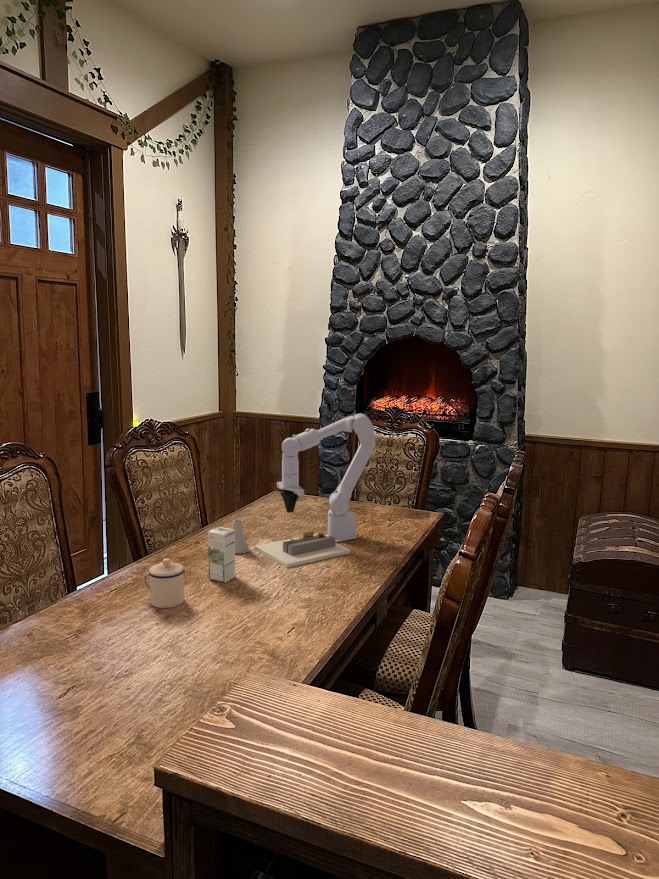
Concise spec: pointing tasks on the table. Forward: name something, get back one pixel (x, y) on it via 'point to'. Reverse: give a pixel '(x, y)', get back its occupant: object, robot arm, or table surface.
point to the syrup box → (221, 554)
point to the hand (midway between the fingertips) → (290, 511)
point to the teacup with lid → (165, 584)
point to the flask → (239, 538)
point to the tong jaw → (285, 544)
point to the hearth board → (299, 558)
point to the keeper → (306, 533)
